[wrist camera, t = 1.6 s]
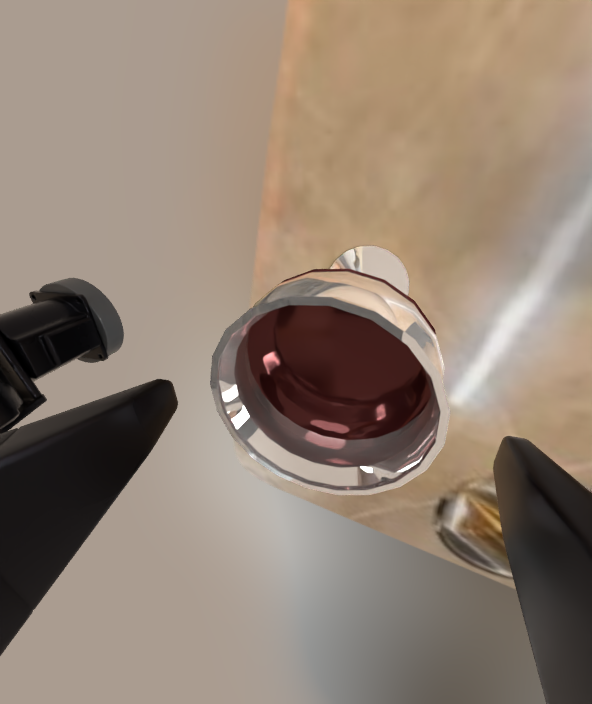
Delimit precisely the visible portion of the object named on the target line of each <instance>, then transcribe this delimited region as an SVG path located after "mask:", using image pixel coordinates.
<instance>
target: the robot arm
mask: <svg viewBox="0 0 592 704" xmlns="http://www.w3.org/2000/svg"><path fill="white" fill-rule="evenodd" d="M30 298H31V300H32V302H33V304H31V305H29V306H25V307H22V308H19V309H16V310H13V311H9V312H6V313H3V314H0V656H1V654H2V653H3V652H4V650H5V649H6V647H7V646H8V645H9V643H10V642H11V641H12V639H13V638H14V637H15V635H16V634H17V633H18V631H19V630H20V628H21V627H22V626H23V625H24V623H25V622H26V620H27V619H28V618H29V616H30V615H31V614H32V612H33V610H34V609H35V608H36V606H37V605H38V604H39V602H40V601H41V600H42V598H43V597H44V596H45V594H46V593H47V592H48V590H49V589H50V587H51V586H52V584H53V583H54V582H55V581H56V579H57V578H58V577H59V575H60V574H61V573H62V571H63V570H64V568H65V567H66V566H67V564H68V563H69V562H70V560H71V559H72V558H73V556H74V555H75V554H76V552H77V551H78V550H79V548H80V547H81V545H82V544H83V543H84V541H85V540H86V539H87V537H88V536H89V535H90V533H91V532H92V531H93V529H94V528H95V526H96V525H97V524H98V522H99V521H100V520H101V518H102V517H103V516H104V514H105V513H106V512H107V510H108V509H109V508H110V506H111V505H112V504H113V502H114V501H115V500H116V498H117V497H118V495H119V494H120V493H121V491H122V490H123V489H124V487H125V486H126V485H127V483H128V482H129V480H130V479H131V478H132V477H133V475H134V474H135V472H136V471H137V470H138V468H139V467H140V466H141V464H142V463H143V462H144V460H145V459H146V458H147V456H148V455H149V453H150V452H151V450H152V449H153V447H154V446H155V444H156V442H157V441H158V439H159V438H160V436H161V434H162V433H163V431H164V429H165V428H166V426H167V424H168V423H169V421H170V419H171V418H172V416H173V414H174V413H175V411H176V409H177V405H178V401H177V397H176V394H175V390H174V387H173V384H172V382H171V381H169V380H162V379H156V380H153V381H151V382H148V383H145V384H142V385H139V386H136V387H133V388H131V389H128V390H125V391H122V392H119V393H116V394H113V395H111V396H108V397H105V398H102V399H99V400H96V401H93V402H90V403H88V404H85V405H82V406H79V407H76V408H73V409H70V410H68V411H65V412H62V413H59V414H56V415H53V416H51V417H48V418H45V419H42V420H39V421H36V422H33V423H30V424H27V425H25V426H22V427H20V428H19V429H17V428H16V429H13V430H10V431H8V430H9V429H11V428H12V427H13V426H14V425H16V424H17V423H18V422H20V421H21V420H22V419H23V418H25V417H26V416H27V415H29V414H30V413H31V412H32V411H34V410H35V409H36V408H38V407H39V406H40V405H41V404H43V403H44V402H45V401H46V400H47V399H46V397H45V396H44V395H43V394H41V393H40V391H39V390H38V388H37V387H36V385H35V384H34V381H35V380H37V379H39V378H41V377H43V376H45V375H47V374H49V373H51V372H53V371H54V370H56V369H58V368H60V367H62V366H64V365H66V364H68V363H69V362H71V361H73V360H75V359H77V358H79V357H80V358H86V359H93V360H99V361H104V360H106V359H108V354H107V351H106V348H105V346H104V343H103V341H102V338H101V335H100V333H99V330H98V328H97V325H96V322H95V320H94V317H93V315H92V312H91V309H90V307H89V304H88V301H87V299H86V297H85V296H84V295H82V294H74V293H60V292H47V291H33V292H30ZM493 471H494V479H495V486H496V493H497V500H498V507H499V514H500V521H501V528H502V534H503V540H504V544H505V548H506V552H507V556H508V560H509V564H510V567H511V571H512V575H513V579H514V583H515V586H516V590H517V594H518V597H519V601H520V605H521V609H522V613H523V617H524V620H525V624H526V628H527V632H528V635H529V640H530V643H531V647H532V651H533V655H534V659H535V662H536V666H537V670H538V674H539V677H540V681H541V685H542V689H543V693H544V696H545V700H546V704H592V493H591V492H590V491H589V490H587V489H586V488H585V487H584V486H583V485H581V484H580V483H579V482H578V481H577V480H576V479H574V478H573V477H572V476H571V475H570V474H568V473H567V472H566V471H565V470H564V469H562V468H561V467H560V466H559V465H558V464H556V463H555V462H554V461H553V460H552V459H550V458H549V457H548V456H547V455H546V454H544V453H543V452H542V451H541V450H540V449H538V448H537V447H536V446H535V445H534V444H532V443H531V442H530V441H529V440H527V439H524V438H518V437H512V436H506V437H504V438H503V440H502V442H501V445H500V447H499V450H498V452H497V455H496V458H495V460H494V466H493Z"/></svg>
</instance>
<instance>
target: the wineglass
mask: <svg viewBox="0 0 592 704" xmlns="http://www.w3.org/2000/svg"><path fill="white" fill-rule="evenodd" d="M408 292H409V278H408V275H407V271H406V268H405V267H404V265H403V264H402V262H401V261H400V259H399V258H398V257H397V256H395V255H394V254H392V253H391V252H390V251H388V250H387V249H383V248H380V247H376V246H359V247H356V248H353V249H351V250H348V251H346V252H345V253H344V254H342V255H341V256H340V257H339V258H337V259H336V260H335V262H334V263H333V265H332V267H331V268H330V269H314V270H311V271H308V272H306V273H303V274H300V275H297V276H295V277H292V278H289V279H286V280H284V281H283V282H282V283H280V284H278V285H277V286H275V287H274V288H273V289H272V290H271V291H269V292H268V293H267V294H266V295H265V296H264V297H262V298H261V299H260V300H259V301H258V302H257V303H255V305H254V307H253V308H251V309H249V310H248V311H247V312H246V313H245V314H244V315H242V316H241V317H240V318H239V319H238V320H237V321H235V322H234V323H233V324H232V325H231V326H229V327H228V328H227V329H226V330H225V332H224V334H223V336H222V338H221V340H220V342H219V344H218V346H217V348H216V350H215V352H214V354H213V356H212V368H211V381H210V385H211V389H212V393H213V396H214V400H215V404H216V408H217V412H218V413H219V415H220V417H221V418H222V420H223V422H224V424H225V425H226V427H227V429H228V430H229V432H230V434H231V436H232V437H233V438H234V439H235V440H236V441H237V442H238V443H239V444H240V446H241V447H242V448H243V449H244V450H245V451H246V452H247V453H248V454H249V455H250V456H251V457H252V458H253V459H254V460H256V461H257V462H259V463H260V464H262V465H263V466H265V467H266V468H267V469H269V470H270V471H272V472H273V473H275V474H276V475H277V476H280V477H282V478H284V479H286V480H289V481H291V482H293V483H296V484H298V485H300V486H302V487H305V488H307V489H312V490H317V491H321V492H326V493H330V494H335V495H372V494H375V493H379V492H383V491H387V490H391V489H395V488H398V487H401V486H403V485H404V484H406V483H407V482H409V481H410V480H412V479H414V478H415V477H417V476H418V475H420V474H421V473H423V472H425V471H426V470H427V469H428V467H429V466H430V465H431V463H432V462H433V460H434V459H435V458H436V456H437V455H438V453H439V452H440V451H441V449H442V448H443V446H444V445H445V439H446V434H447V428H448V423H449V418H450V408H449V404H448V400H447V396H446V392H445V389H444V385H443V376H444V370H445V368H444V364H443V360H442V356H441V352H440V348H439V344H438V340H437V336H436V333H435V329H434V328H433V326H432V325H431V323H430V322H429V321H428V319H427V318H426V316H425V315H424V313H423V312H422V311H421V309H420V308H419V306H418V305H417V304H416V302H415V301H414V300H413V299H411V298H410V297H408Z"/></svg>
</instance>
